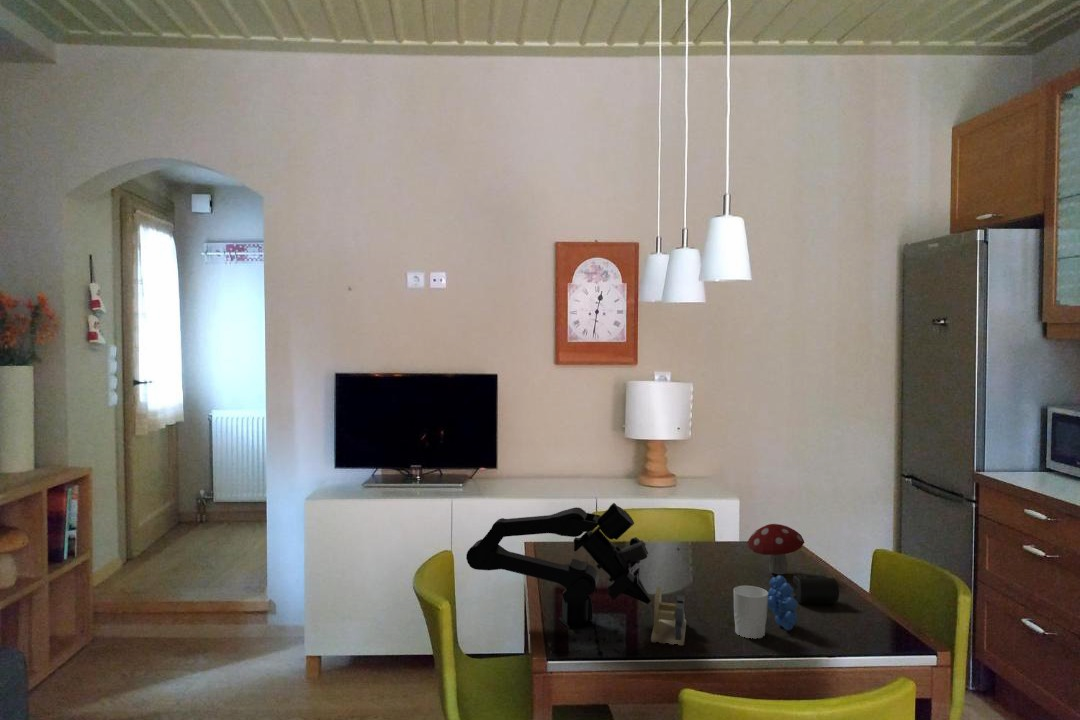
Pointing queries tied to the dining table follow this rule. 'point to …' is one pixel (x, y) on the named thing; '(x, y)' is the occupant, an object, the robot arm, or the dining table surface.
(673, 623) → the birch board
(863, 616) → the dining table surface
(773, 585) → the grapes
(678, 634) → the grey two-prong bracket
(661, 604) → the tan notched block
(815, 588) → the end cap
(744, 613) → the white cup
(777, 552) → the decorative mushroom
